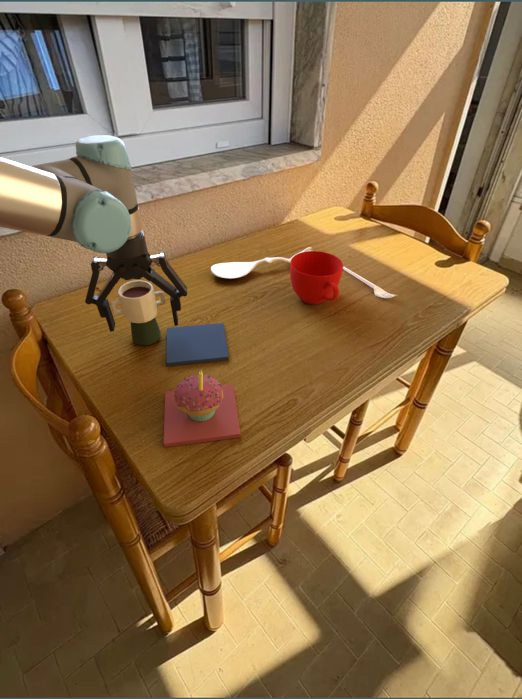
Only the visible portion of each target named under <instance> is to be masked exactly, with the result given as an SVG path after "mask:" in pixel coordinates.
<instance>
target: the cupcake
mask: <svg viewBox="0 0 522 699" xmlns="http://www.w3.org/2000/svg"><path fill="white" fill-rule="evenodd" d="M221 385H222V384H221V383H220V380H219V381H218V380H217V379H216V378H214V377H213V376H211V375H207V374H204V373H203V369H200V371H199V372H198V374H193V375H189V376H188V377H184V378H183V380H181V381H180V382H179V383H178V384H177V386H176V387H175V389H174V390H173V391H174V400H175V403H176V406H177V409H178V410H180V411H182V412H184V413H186V414H188V415H189V416H190V418H192V419H193V420H195V421H206V420H208V419H210V418H211V417H212V416H213V415H214V413H215V410H216V409H217V408H218V407H219V405H220V403H221V402H222V400H223V390H222V386H221Z"/></svg>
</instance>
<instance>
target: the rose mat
mask: <svg viewBox="0 0 522 699" xmlns="http://www.w3.org/2000/svg"><path fill="white" fill-rule="evenodd" d="M220 385H221V386H222V390H223V400H222V402H221V403H220V405H219V407H218V408H217V409H216V410H215V413H214V415H213V416H212V417H211V418H210V419H208V420H206V421H195V420H193V419H192V418H190V416H189V415H188V414H186V413H184V412H182V411H180V410H178V409H177V406H176V403H175V400H174V391H175V390H169V391H164V413H163V414H164V417H163V420H164V421H163V447H164V448H169V447H176V446H185V445H193V444H200V443H207V442H215V441H222V440H231V439H238V438H241V437H242V435H241V428H240V422H239V421H240V420H239V414H238V408H237V402H236V396H235V390H234V389H235V388H234V384H233V383H230V384H220Z"/></svg>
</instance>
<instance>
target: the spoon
mask: <svg viewBox="0 0 522 699" xmlns="http://www.w3.org/2000/svg"><path fill="white" fill-rule="evenodd" d="M307 251H314V250H313V247H312V246H308V247H306V248H304V249H303V250H301V251H300V252H297V253H295V254H294V255H292V256H291V257H290V258H287V257H282V256H276V257H267V256H266V257H264V258H263V259H259V260H255V261H232V262H220V263H215V264H213V265H211V267H210V272H211V274H212V275H213V276H215V277H217V278H221V279H229V280H232V279H233V280H235V279H238V278H239V279H240V278H242V277H245V276H247V275H248V274H250V273H251V272H252V271H253V270H254V269H255V268H256V267H257V266H259V265H261V264H271V263H274V262H283V263H287V264H290V261H291V259H292V258H293V257H294V256H295V255H297V254H299V253H302V252H307Z"/></svg>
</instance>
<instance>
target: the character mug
mask: <svg viewBox="0 0 522 699" xmlns="http://www.w3.org/2000/svg"><path fill="white" fill-rule="evenodd" d="M117 296H118V299H117V300H113V301H111V302H110V308H111V311H112V314H113V316H121V315H123V316H124V318H125V319H126V320H127V321H128V322H130V332H131V339H132V341H133V342H134V343H136V344H138V345H140V346H149V345H153V344H155V343H156V342H157V341H159V340H160V338H161V334H162V333H161V329H160V326H159V324H158V321H157V319H156V316H157V315H158V310H159V309H158V307H159V306H163V305H165V304H166V297H165V292H164V291H163V290H158V291H155V289H154V285H153V283H152V282H150V281H147V280H141V279H137V280H131V281H128V282H125V283H124V284H122V285H121V286H120V287H119V288H118V289H117ZM157 297H159V300H157ZM117 306H121V309H118V308H117Z"/></svg>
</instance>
